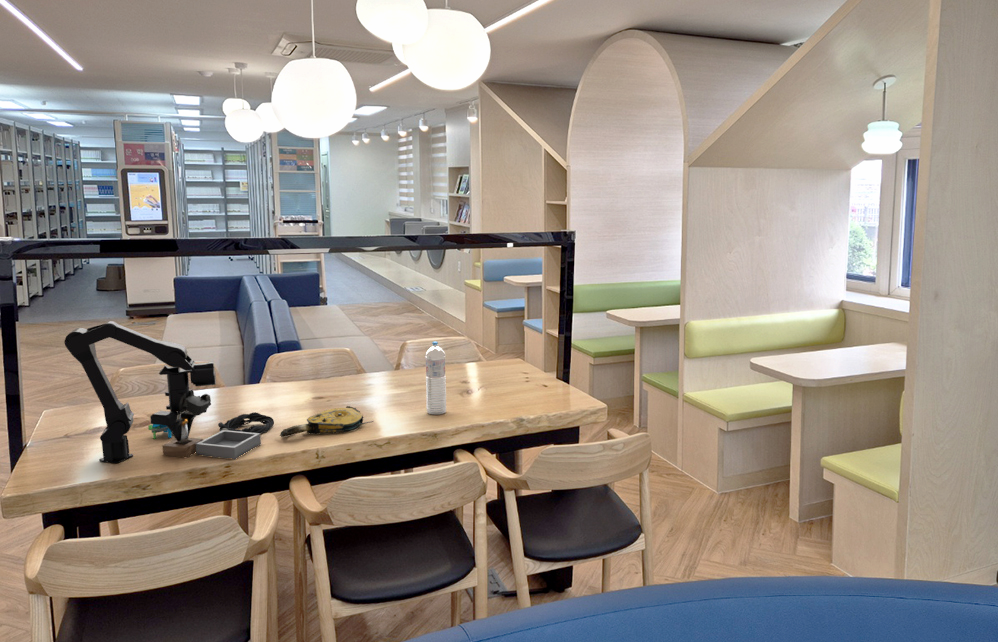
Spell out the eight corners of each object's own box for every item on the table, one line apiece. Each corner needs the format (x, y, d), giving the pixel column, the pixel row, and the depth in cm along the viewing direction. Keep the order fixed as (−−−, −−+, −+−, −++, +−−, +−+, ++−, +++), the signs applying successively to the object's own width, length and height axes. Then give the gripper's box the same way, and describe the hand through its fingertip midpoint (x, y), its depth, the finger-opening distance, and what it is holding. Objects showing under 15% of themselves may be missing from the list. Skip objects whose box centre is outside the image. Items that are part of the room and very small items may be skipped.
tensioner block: (186, 457, 214) (185, 447, 213) (163, 455, 216) (162, 445, 215) (204, 448, 221) (203, 438, 221) (181, 446, 224) (180, 436, 223)
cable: (269, 421, 248) (268, 409, 247) (281, 432, 237) (280, 419, 236) (215, 430, 239) (214, 417, 238) (225, 442, 228) (224, 429, 227)
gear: (190, 424, 239) (181, 410, 231) (190, 441, 236) (182, 427, 228) (153, 431, 237) (143, 417, 228) (154, 448, 233) (144, 434, 225)
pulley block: (270, 415, 232) (354, 398, 252) (270, 432, 234) (354, 414, 253) (290, 433, 222) (376, 414, 242) (289, 450, 224) (375, 430, 243)
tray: (235, 459, 212) (234, 447, 212) (196, 455, 216) (195, 443, 215) (261, 444, 225) (260, 433, 224) (224, 440, 228) (223, 429, 228)
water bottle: (431, 408, 261) (429, 339, 256) (449, 410, 259) (448, 340, 254) (423, 414, 254) (421, 343, 250) (441, 416, 252) (440, 344, 248)
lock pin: (185, 454, 217) (182, 421, 215) (174, 453, 217) (171, 420, 216) (193, 450, 220) (190, 418, 218) (182, 449, 221) (180, 417, 219)
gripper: (180, 398, 204) (185, 452, 207) (222, 381, 222) (225, 431, 225) (146, 395, 207) (151, 448, 210) (190, 379, 225) (194, 428, 228)
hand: (182, 438), depth 218 cm, fingers closed on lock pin, 3 cm apart
